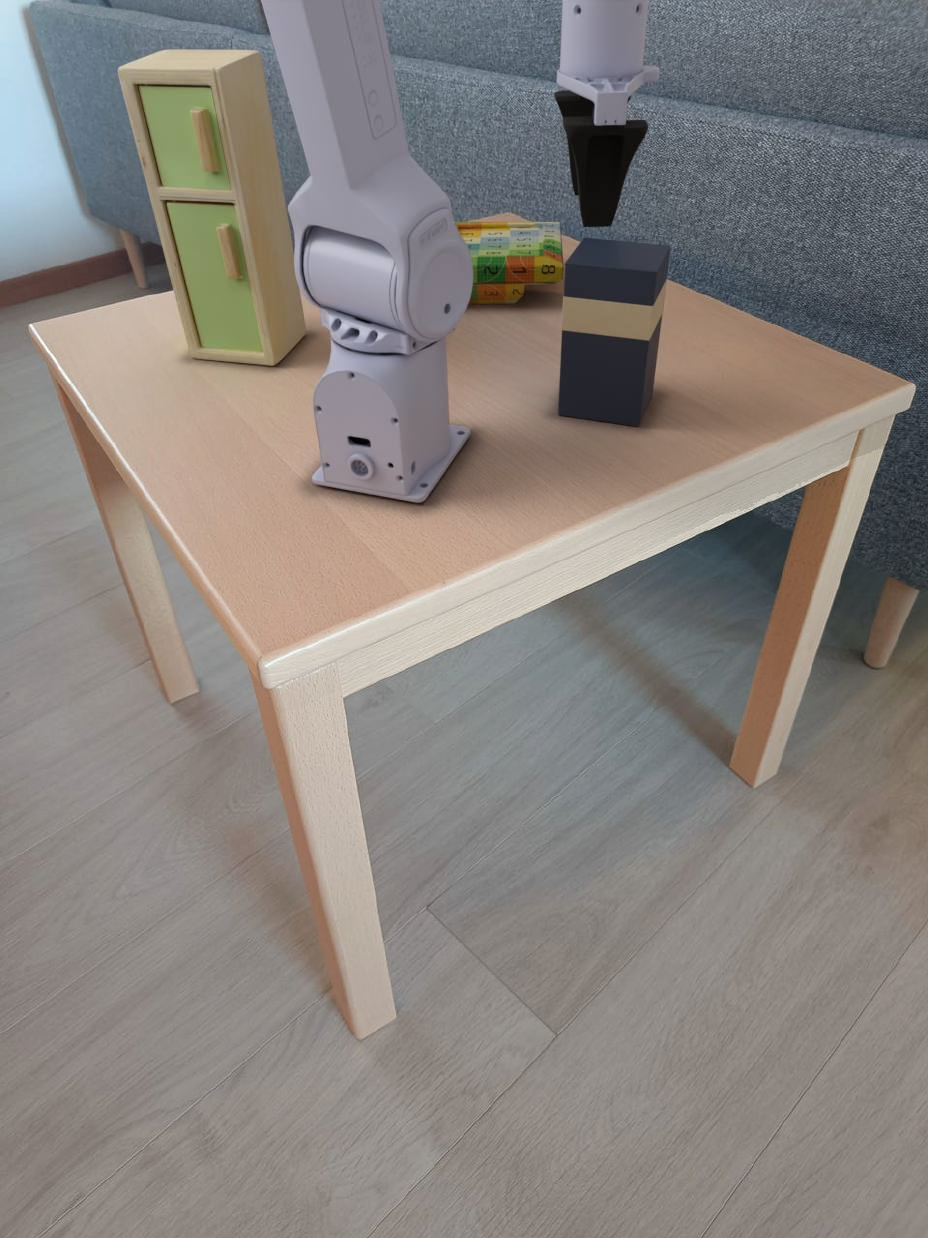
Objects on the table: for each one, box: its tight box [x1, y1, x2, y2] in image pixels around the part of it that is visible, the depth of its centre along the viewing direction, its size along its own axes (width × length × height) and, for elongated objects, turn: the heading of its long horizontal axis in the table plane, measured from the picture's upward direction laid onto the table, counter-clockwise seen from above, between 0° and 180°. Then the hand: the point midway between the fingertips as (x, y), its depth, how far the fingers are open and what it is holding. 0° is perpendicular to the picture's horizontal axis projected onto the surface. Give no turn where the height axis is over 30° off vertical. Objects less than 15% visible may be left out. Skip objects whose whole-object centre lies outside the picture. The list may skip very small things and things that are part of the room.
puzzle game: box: [454, 221, 565, 305], centre depth 83 cm, size 12×5×20 cm
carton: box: [557, 237, 671, 427], centre depth 62 cm, size 5×6×11 cm
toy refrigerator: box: [117, 48, 307, 367], centre depth 68 cm, size 8×7×21 cm
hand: (591, 208), depth 68 cm, fingers open, 7 cm apart
